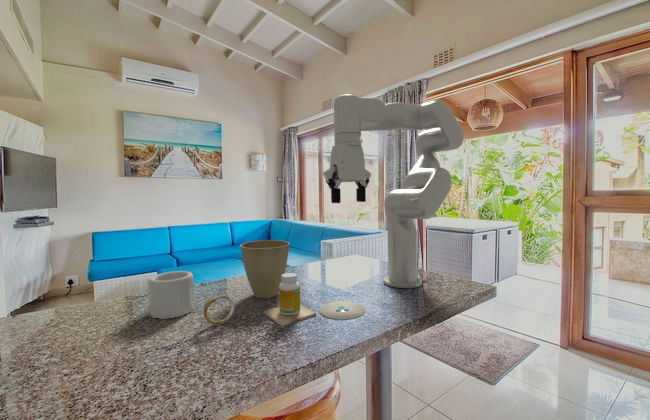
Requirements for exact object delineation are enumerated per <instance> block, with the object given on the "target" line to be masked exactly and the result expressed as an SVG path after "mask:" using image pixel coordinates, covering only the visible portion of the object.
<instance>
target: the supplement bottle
mask: <svg viewBox="0 0 650 420" xmlns="http://www.w3.org/2000/svg"><path fill="white" fill-rule="evenodd" d="M281 280H282V283H281V284H280V285H279V293H278V295H279V297H278V299H279V300H278V301H279V307H280V313H281V314H283V315H295V314H298V313H299V312H300V308H301V307H300V305H301V285H300V283H299V282H298V275H297V273H294V272H287V273H286V272H285V273H284V274H282V276H281Z"/></svg>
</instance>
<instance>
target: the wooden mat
mask: <svg viewBox="0 0 650 420" xmlns="http://www.w3.org/2000/svg"><path fill="white" fill-rule="evenodd" d="M300 307H301V308H300V312H299V313H298V314H295V315H283V314H281V313H280V306H277V307H273V308H270V309H266V310H264V311H262V314H263V315H264V316H266V317H267V318H269V319H271V321H274V322H275V323H276V324H278V325H280V326H281V327H285V326H287V325H290V324H294V323H296V322H299V321H302V320H305V319H308V318H311V317H314V316H317V312H316V311H314V310H313V309H310V308H308V307H306V306H304V305H302V304H300Z"/></svg>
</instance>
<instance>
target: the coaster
mask: <svg viewBox="0 0 650 420" xmlns="http://www.w3.org/2000/svg"><path fill="white" fill-rule="evenodd" d="M318 310H319V314H320V315H321V316H323V317H326V318H327V319H333V320H341V321H343V320H352V319H355V318H359V317H361V316H362V315H363V314H365V311H366V310H365V307H364V306H362V305H361V303H360V304H359V303H356V302H353V301H346V300H344V301H342V300H338V301H331V302H327V303H325V304H322V305H321V306H320V307H319V309H318Z"/></svg>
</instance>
